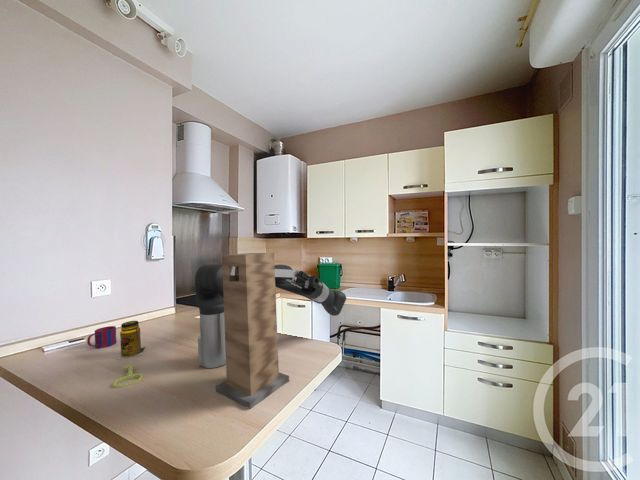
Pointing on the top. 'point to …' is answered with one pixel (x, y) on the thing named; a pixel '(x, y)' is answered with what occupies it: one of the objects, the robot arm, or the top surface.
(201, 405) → the top surface
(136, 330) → the condiment
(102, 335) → the mug
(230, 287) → the post
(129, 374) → the yellow-green flat looped piece
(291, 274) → the pin
